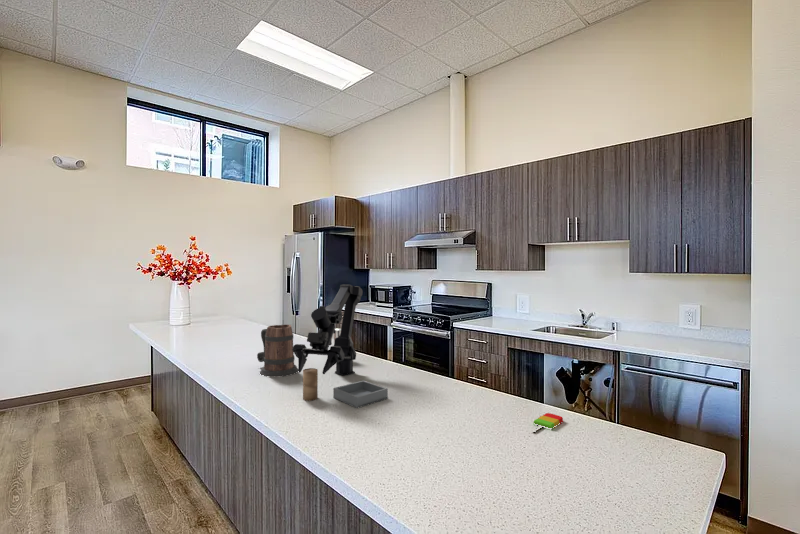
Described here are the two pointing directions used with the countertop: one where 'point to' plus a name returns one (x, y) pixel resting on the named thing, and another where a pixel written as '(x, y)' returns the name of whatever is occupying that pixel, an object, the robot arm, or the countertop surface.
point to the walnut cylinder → (310, 384)
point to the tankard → (277, 351)
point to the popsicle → (549, 420)
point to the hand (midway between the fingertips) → (311, 372)
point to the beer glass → (335, 335)
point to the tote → (360, 393)
